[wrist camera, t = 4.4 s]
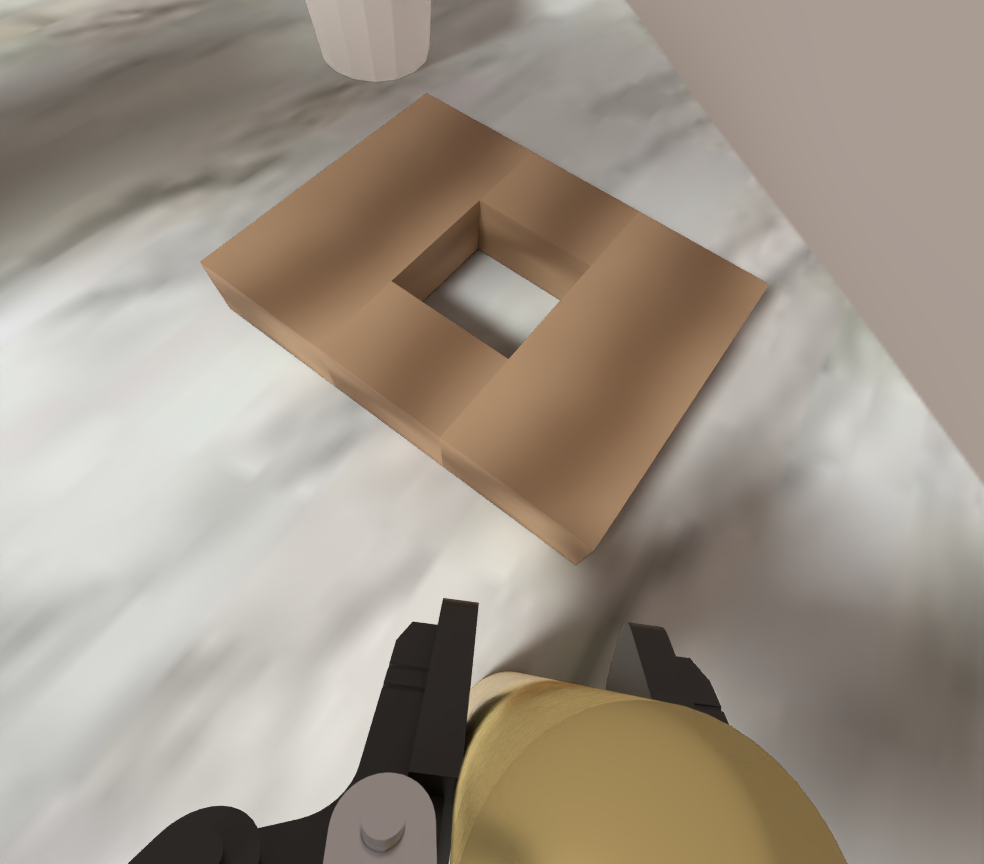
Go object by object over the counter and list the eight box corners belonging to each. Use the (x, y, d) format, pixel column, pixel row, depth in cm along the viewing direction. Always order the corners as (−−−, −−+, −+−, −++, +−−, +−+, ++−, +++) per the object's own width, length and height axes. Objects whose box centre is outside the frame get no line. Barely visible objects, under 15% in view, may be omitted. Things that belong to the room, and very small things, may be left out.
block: (230, 308, 20) (200, 262, 17) (429, 146, 24) (426, 93, 22) (575, 565, 16) (594, 549, 14) (735, 325, 21) (769, 284, 18)
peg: (434, 742, 14) (350, 1017, 3) (498, 649, 15) (594, 620, 4) (521, 820, 14) (775, 1469, 3) (581, 717, 15) (938, 880, 4)
